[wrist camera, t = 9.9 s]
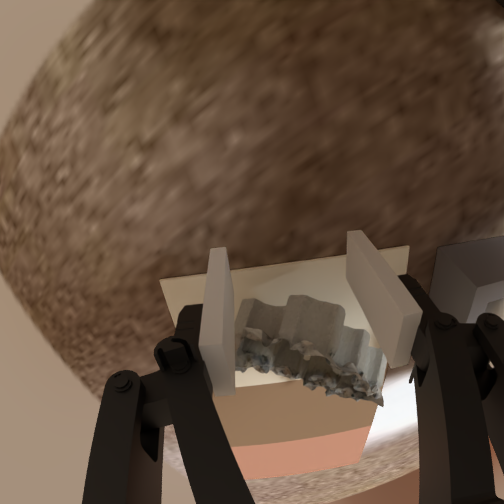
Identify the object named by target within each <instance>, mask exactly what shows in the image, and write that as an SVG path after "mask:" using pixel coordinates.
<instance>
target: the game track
mask: <svg viewBox="0 0 504 504" xmlns="http://www.w3.org/2000/svg"><path fill="white" fill-rule="evenodd" d="M409 248H410V247H409V245H407V246H400V247H393V248H387V249H380V250H378V251H379V253H380V254H381V255H382V257H383V258H384V259H385V260H386V262H387V263H388V264H389V266H390V267H391V268H392V270H393V271H394V272H395V274H396V275H403V274H406V271H407V264H408V256H409ZM346 256H347V254H346V255H339V256H332V257H325V258H317V259H310V260H303V261H296V262H289V263H281V264H274V265H266V266H259V267H251V268H244V269H236V270H230V273H231V278H232V284H233V289H234V322H235V320H236V317H237V314H238V311H239V308H240V305H241V302H242V300H243V299H250V298H256V299H257V300H259V301H261V302H263V303H265V304H269V305H273V306H286V304H287V301H288V298H289V296H290V295H308V296H309V297H312V298H314V299H317V300H319V301H326V302H329V303H332V304H338V305H341V306H342V307H343V308H344V309H345V313H346V315H345V320H344V326H348V327H351V328H354V329H364V330H366V331H367V332H368V333H369V334H370V341H369V346H370V347H375V348H381V347H380V345H379V343H378V341H377V339H376V337H375V335H374V332H373V330H372V328H371V326H370V324H369V322H368V320H367V318H366V316H365V314H364V312H363V310H362V308H361V306H360V304H359V302H358V301H357V299H356V297H355V295H354V293H353V291H352V289H351V287H350V285H349V283H348V281H347V279H346ZM206 278H207V273H205V274H198V275H190V276H182V277H174V278H166V279H160V284H161V287H162V290H163V294H164V296H165V299H166V302H167V305H168V308H169V311H170V314H171V317H172V320H173V323H174V325H175V328H176V325H177V320H178V315H179V313H180V311H181V310H182V309H183V307H184V306H185V305H193V304H203V302H204V294H205V286H206ZM304 360H310V355H307V356H305V355H304ZM388 365H389V364H388V362H387V365H386V369H385V375H384V380H383V384H384V381H385V377H386V373H387V369H388ZM382 388H383V385H382V386H381V387H380V389H381V392H382ZM235 391H236V395H229V396H216V397H215V394H214V392H213V397H212V399H213V402H214V405H215V408H216V410H217V413H218V416H219V418H220V421H221V423H222V426H223V429H224V431H225V434H226V436H227V439H228V441H229V444H230V446H231V449H232V451H233V454H234V456H235V458H236V461H237V463H238V466H239V468H240V470H241V473H242V475H243V477H244V480H246V479H259V478H269V477H279V476H287V475H294V474H301V473H308V472H314V471H320V470H325V469H330V468H335V467H340V466H345V465H349V464H354V463H358V462H359V459H360V457H361V454H362V451H363V448H364V446H365V443H366V440H367V437H368V434H369V431H370V428H371V425H372V422H373V419H374V415H375V412H376V409H377V406H378V404H376V403H374V402H372V401H366V400H362V399H360V400H359V401H358V402H356V401H355V400H354V399H352V398H343V397H339V396H338V395H331V396H328V397H326V394H325V391H326V389H325V388H324V387H319V386H318V387H316V389H315V390H313V391H312V390H310V389H309V388H308V387H306V386H303V380H302V379H295V380H294V379H292V380H290V379H289V378H287V377H284V376H279V375H276V374H275V373H274V372H272V371H271V370H269V372H268V373H267V374H266V373H263V374H262V373H260V372H258V371H256V370H255V369H254V368H253V367H250V368H248V369H247V370H246V371H245V372H244V373H242V372H241V371H235Z"/></svg>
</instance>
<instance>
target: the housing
mask: <svg viewBox="0 0 504 504" xmlns="http://www.w3.org/2000/svg"><path fill="white" fill-rule="evenodd" d="M429 297H430V299H431V300H432V301H433V303H434V304H435V305H436V307H437V308H438V309H439V311H440V312H443V313H448V314H450V315H453V316H454V317H455V318H456V319H457V320H458V322H459V323H476V320H477V318H478V316H479V315H480V314H482V313H485V310H486V307H487V304H488V303H489V302H493V301H496V300H499V299H502V298H504V236H500V237H494V238H488V239H483V240H477V241H471V242H465V243H459V244H453V245H447V246H441V247H438V248H437V255H436V261H435V266H434V272H433V277H432V282H431V287H430V292H429Z"/></svg>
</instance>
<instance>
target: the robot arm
mask: <svg viewBox="0 0 504 504" xmlns="http://www.w3.org/2000/svg"><path fill="white" fill-rule="evenodd" d="M497 1H498V2H499V3H500V4H501V5H502V6H503V7H504V0H497ZM346 279H347V281H348V283H349V285H350V287H351V289H352V291H353V293H354V295H355V297H356V299H357V301H358V302H359V304H360V306H361V308H362V310H363V312H364V314H365V316H366V318H367V320H368V322H369V324H370V326H371V328H372V330H373V332H374V335H375V337H376V339H377V341H378V343H379V345H380V347H381V349H382V351H383V353H384V355H385V357H386V360H387V362H388V364H389V366H390V368H391V369H393V368H397V367H401V366H405V365H408V363H409V360H410V356H411V355H412V357H413V359H414V361H415V364H414V367H413V370H412V373H411V376H410V379H409V383H412V380H413V378H414V383H415V393H416V404H417V417H418V434H419V465H420V485H419V488H420V489H419V504H504V500H502V499H500V498H498V497H497V496H496V494H495V485H494V474H493V466H492V459H491V450H490V444H489V438H490V441H491V443H492V446H493V448H494V451H495V453H496V455H497V458H498V460H499V463H500V466H501V469H502V471H503V474H504V321H503V320H502V319H501V318H500V317H499V316H498V315H496V314H493V313H482V314H480V315H479V316H478V318H477V320H476V323H459V322H458V320H457V319H456V318H455V317H454V316H453V315H450V314H448V313H443V312H440V311H439V309H438V308H437V307H436V305H435V304H434V303H433V301H432V300H431V299H430V297H429V296H428V295H427V294H426V292H425V291H424V290H423V288H421V286H420V285H419V283H418V282H417V281H416V279H414V278H412V277H411V276H409V275H408V274H403V275H396V274H395V272H394V271H393V270H392V268H391V267H390V266H389V264H388V263H387V262H386V260H385V259H384V258H383V257H382V255H381V254H380V253H379V251H378V250H377V249H376V248H375V246H374V245H373V244H372V243H371V241H370V240H369V239H368V238H367V236H366V235H365V234H364V233H363V231H362V230H355V231H347V256H346ZM154 357H155V359H156V361H157V363H158V365H159V368H160V370H158V371H157V372H154V373H151V374H148V375H145V376H141V377H139V376H138V374H137V373H135V372H133V371H130V370H123V371H119V372H117V373H115V374H113V375H112V376H111V377H110V378H109V379H108V381H107V383H106V385H105V389H104V393H103V397H102V401H101V405H100V409H99V414H98V418H97V423H96V427H95V432H94V437H93V442H92V447H91V452H90V457H89V463H88V468H87V475H86V480H85V487H84V493H83V500H82V504H161V494H162V493H161V492H162V463H163V444H164V428H165V426H167V425H171V424H173V425H174V429H175V433H176V437H177V441H178V444H179V448H180V452H181V455H182V459H183V462H184V466H185V469H186V473H187V476H188V479H189V482H190V486H191V489H192V492H193V495H194V498H195V501H196V504H255V502H254V500H253V498H252V495H251V493H250V491H249V489H248V486H247V484H246V482H245V480H244V477H243V475H242V473H241V470H240V468H239V466H238V463H237V461H236V458H235V456H234V454H233V451H232V449H231V446H230V444H229V441H228V439H227V436H226V434H225V431H224V429H223V426H222V423H221V421H220V418H219V416H218V413H217V410H216V408H215V405H214V402H213V399H212V397H213V392H214V394H215V397H216V396H229V395H236V391H235V328H234V289H233V284H232V278H231V273H230V267H229V261H228V256H227V250H226V247H219V248H211V249H210V255H209V262H208V270H207V278H206V286H205V294H204V302H203V304H193V305H185V306H184V307H183V309H182V310H181V311H180V313H179V315H178V320H177V325H176V331H175V334H174V336H170V337H168V338H165V339H163V340H162V341H161V342H159V343H158V344H157V346H156V347H155V349H154ZM490 361H491V363H492V364H493V366H494V368H492V367H491V366H490V364H489V363H490ZM488 436H489V438H488Z"/></svg>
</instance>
